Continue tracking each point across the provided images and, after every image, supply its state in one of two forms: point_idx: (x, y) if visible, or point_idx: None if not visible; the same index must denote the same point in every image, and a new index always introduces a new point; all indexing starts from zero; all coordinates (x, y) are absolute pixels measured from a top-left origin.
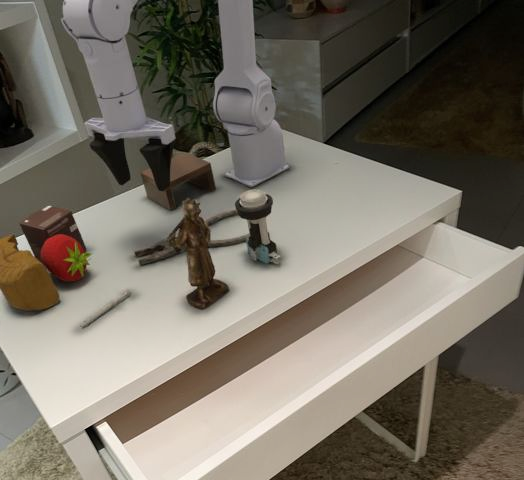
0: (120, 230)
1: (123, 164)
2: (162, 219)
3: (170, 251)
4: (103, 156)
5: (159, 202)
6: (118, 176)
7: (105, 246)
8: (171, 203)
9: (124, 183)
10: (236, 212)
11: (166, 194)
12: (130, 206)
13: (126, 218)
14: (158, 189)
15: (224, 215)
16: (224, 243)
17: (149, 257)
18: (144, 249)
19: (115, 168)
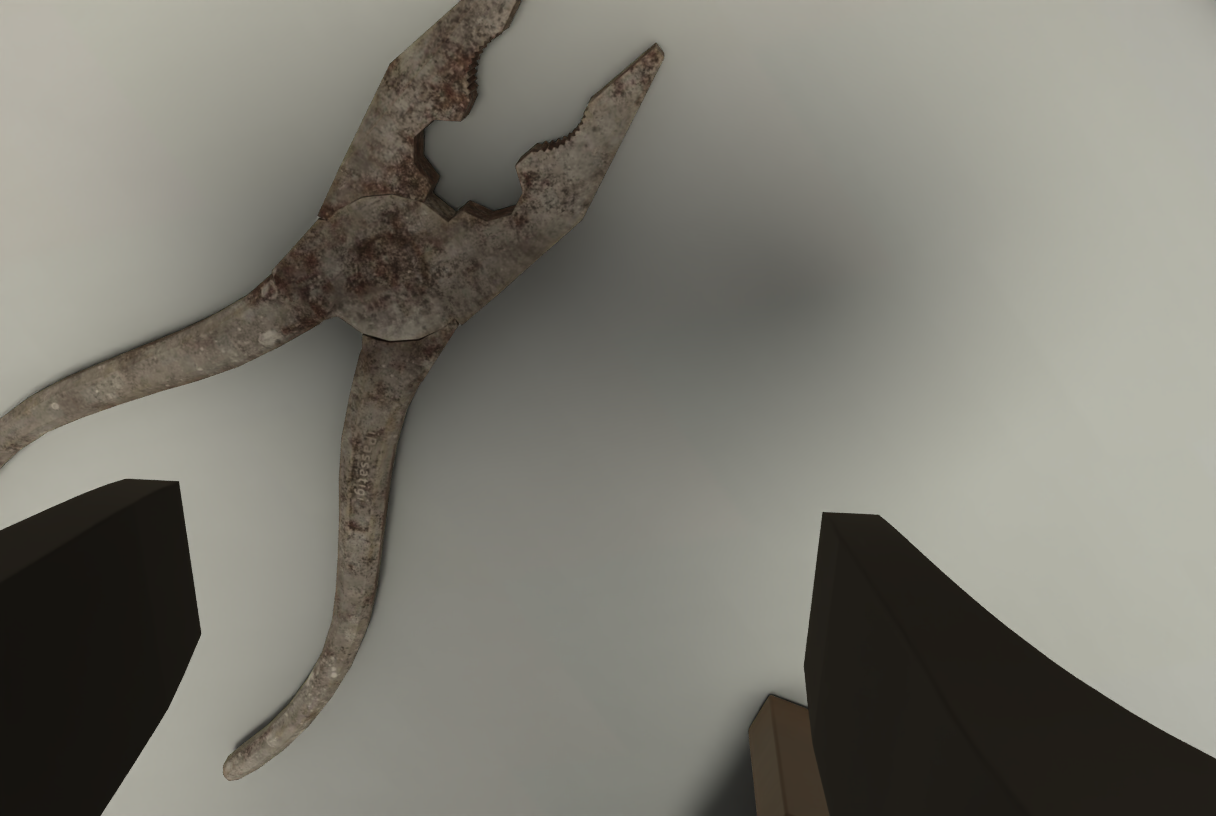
0: (1055, 378)
1: (856, 805)
2: (772, 587)
3: (344, 160)
4: (1091, 763)
5: None
6: (853, 575)
7: (1063, 126)
8: (765, 745)
9: (820, 557)
10: (241, 747)
11: (784, 792)
12: (1158, 690)
13: (1099, 541)
14: (159, 483)
15: (292, 699)
16: (39, 391)
17: (462, 18)
18: (589, 118)
19: (889, 657)
